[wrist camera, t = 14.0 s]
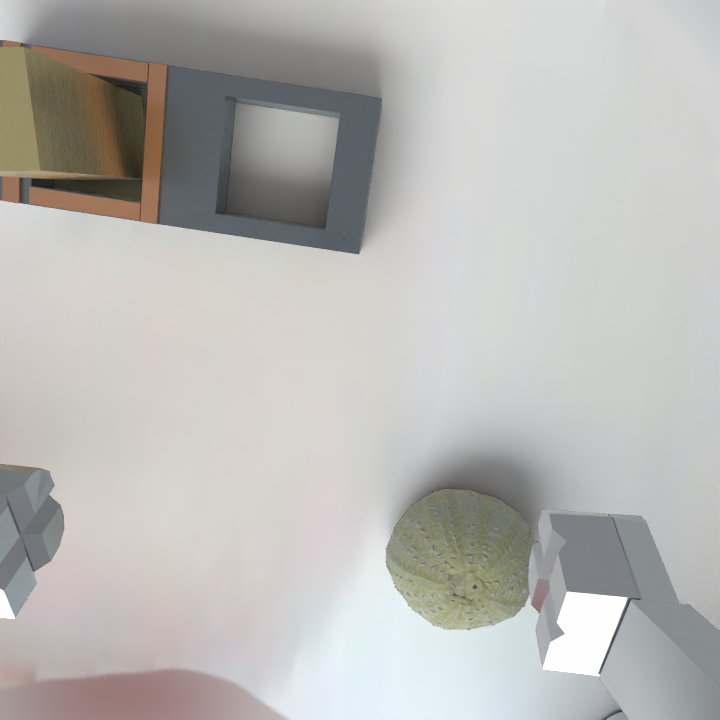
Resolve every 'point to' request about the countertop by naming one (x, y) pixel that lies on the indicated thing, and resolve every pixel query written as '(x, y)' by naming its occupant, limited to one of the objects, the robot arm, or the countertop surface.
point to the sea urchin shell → (461, 559)
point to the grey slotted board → (215, 152)
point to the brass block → (66, 122)
